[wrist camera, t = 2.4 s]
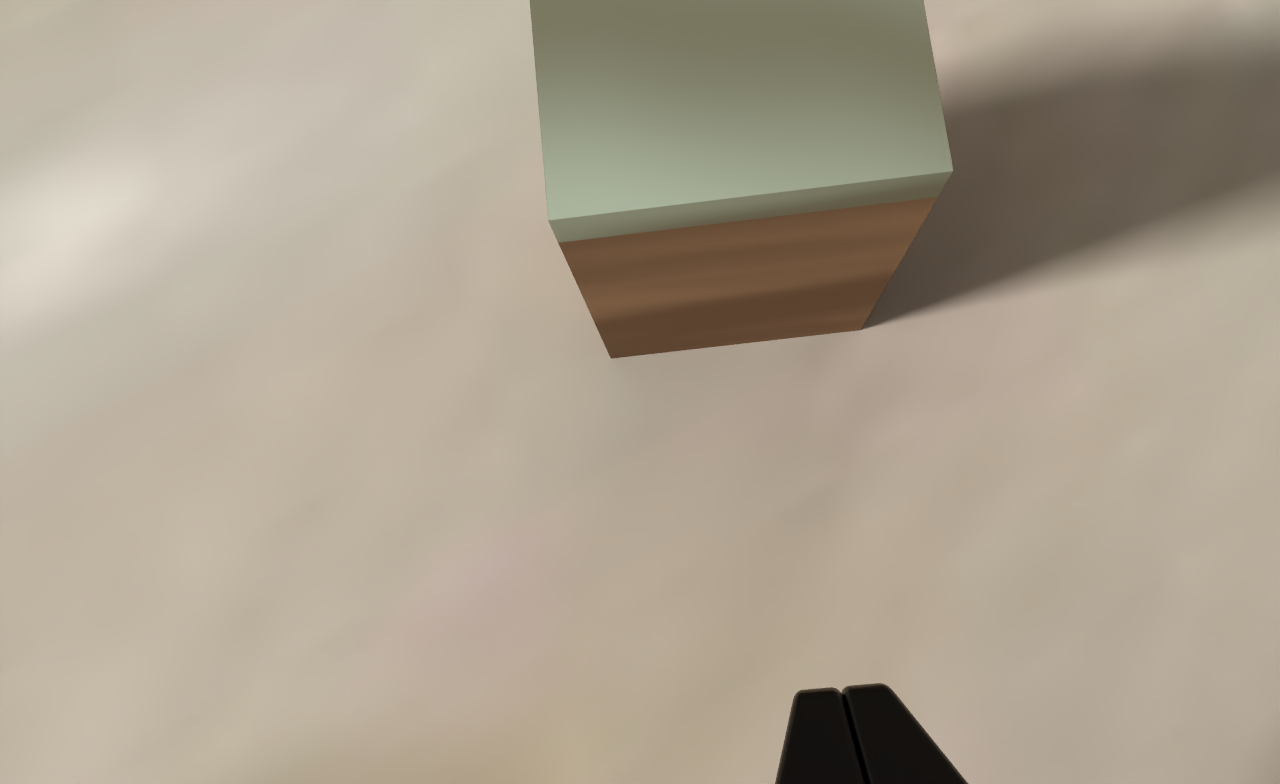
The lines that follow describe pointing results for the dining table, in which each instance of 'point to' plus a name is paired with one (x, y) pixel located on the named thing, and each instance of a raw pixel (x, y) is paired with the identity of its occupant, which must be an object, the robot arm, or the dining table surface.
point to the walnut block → (735, 161)
